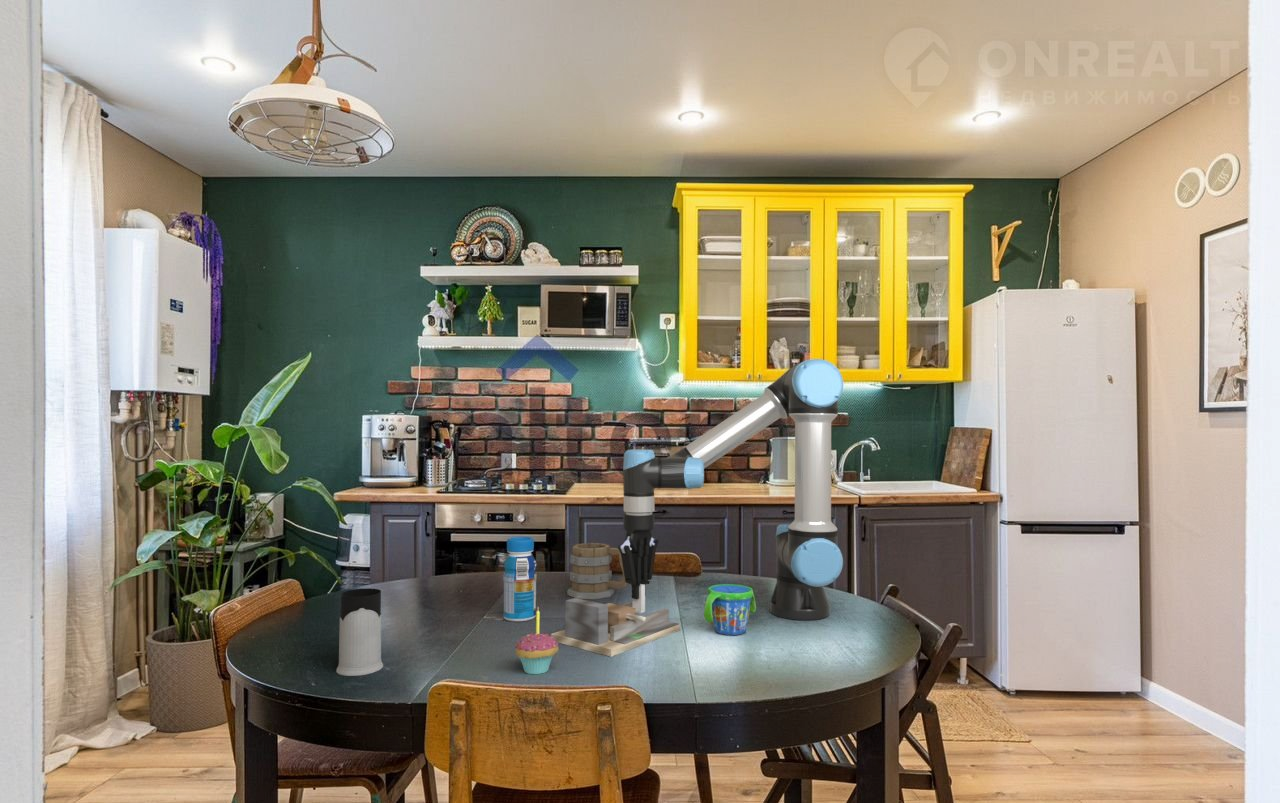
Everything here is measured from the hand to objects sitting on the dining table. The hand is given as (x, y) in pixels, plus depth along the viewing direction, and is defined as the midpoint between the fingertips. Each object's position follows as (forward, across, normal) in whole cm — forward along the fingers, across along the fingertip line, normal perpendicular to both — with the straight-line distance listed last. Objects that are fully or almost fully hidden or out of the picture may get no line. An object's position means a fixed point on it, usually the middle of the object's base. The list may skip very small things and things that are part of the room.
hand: (638, 611), depth 170 cm
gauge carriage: (+2, +9, +3) cm, 10 cm away
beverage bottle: (+4, +12, -29) cm, 32 cm away
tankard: (+4, -20, -29) cm, 36 cm away
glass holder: (+4, +56, -28) cm, 63 cm away
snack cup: (+4, -11, +19) cm, 22 cm away
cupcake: (+4, +36, +3) cm, 36 cm away
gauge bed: (+4, +8, 0) cm, 9 cm away
